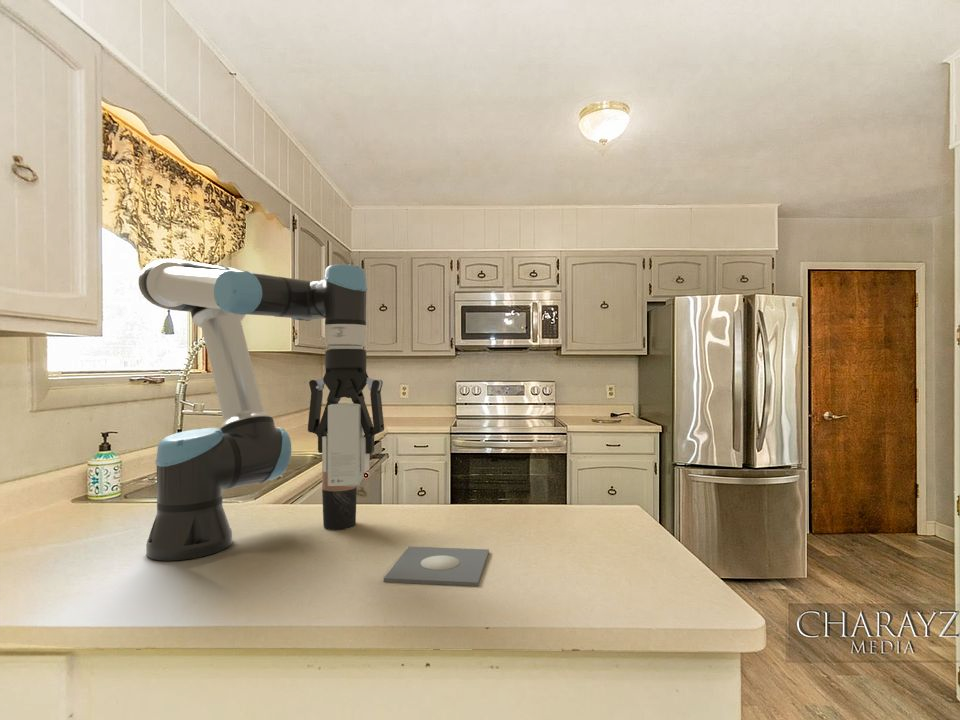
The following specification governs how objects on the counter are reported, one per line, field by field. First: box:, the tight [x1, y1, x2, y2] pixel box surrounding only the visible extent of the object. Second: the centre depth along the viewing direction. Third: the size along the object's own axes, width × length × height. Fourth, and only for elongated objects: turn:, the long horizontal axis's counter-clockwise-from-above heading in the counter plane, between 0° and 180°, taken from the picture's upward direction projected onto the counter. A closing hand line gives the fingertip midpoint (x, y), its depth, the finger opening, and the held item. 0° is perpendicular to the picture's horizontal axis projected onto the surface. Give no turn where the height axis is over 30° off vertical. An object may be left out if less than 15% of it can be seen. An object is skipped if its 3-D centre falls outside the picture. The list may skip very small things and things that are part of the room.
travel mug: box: [321, 471, 358, 531], centre depth 123 cm, size 8×8×20 cm
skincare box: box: [327, 402, 365, 487], centre depth 101 cm, size 8×6×15 cm
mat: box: [383, 546, 490, 587], centre depth 97 cm, size 16×16×1 cm
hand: (346, 470), depth 101 cm, fingers closed on skincare box, 7 cm apart
